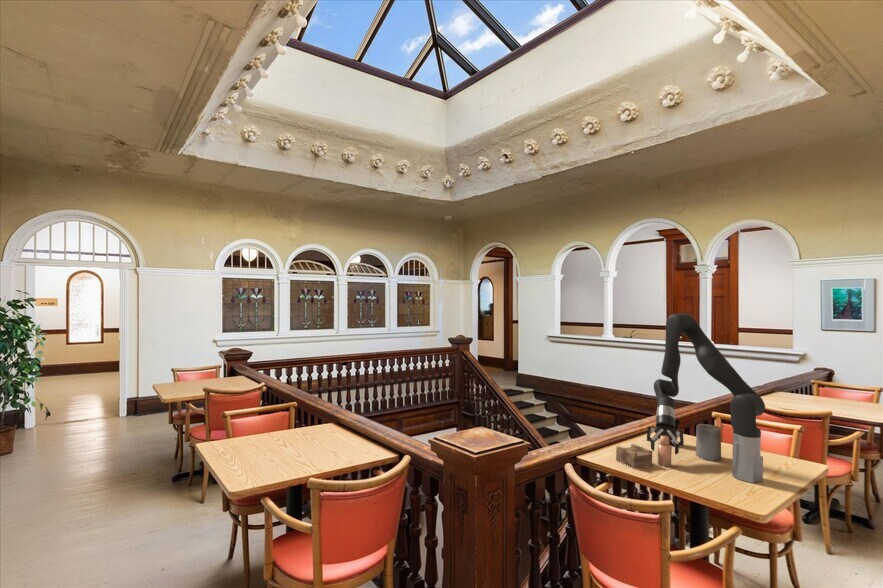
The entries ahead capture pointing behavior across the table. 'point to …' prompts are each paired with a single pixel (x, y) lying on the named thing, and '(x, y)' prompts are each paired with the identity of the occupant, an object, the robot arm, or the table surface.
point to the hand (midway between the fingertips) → (664, 451)
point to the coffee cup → (675, 430)
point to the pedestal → (634, 456)
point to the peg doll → (664, 452)
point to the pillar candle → (708, 442)
